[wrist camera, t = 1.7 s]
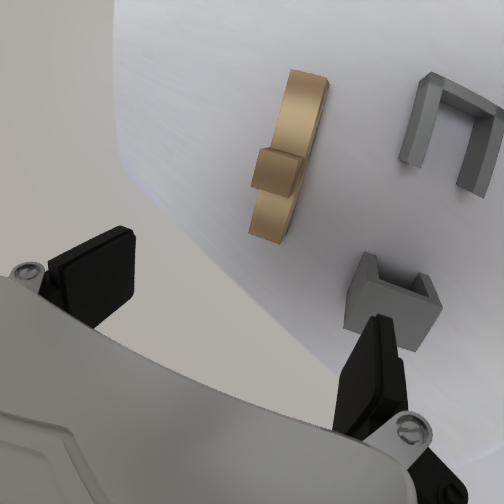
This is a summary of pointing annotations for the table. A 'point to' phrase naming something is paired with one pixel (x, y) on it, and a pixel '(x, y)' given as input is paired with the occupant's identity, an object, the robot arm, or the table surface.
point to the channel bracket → (391, 304)
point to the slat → (287, 155)
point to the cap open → (482, 138)
